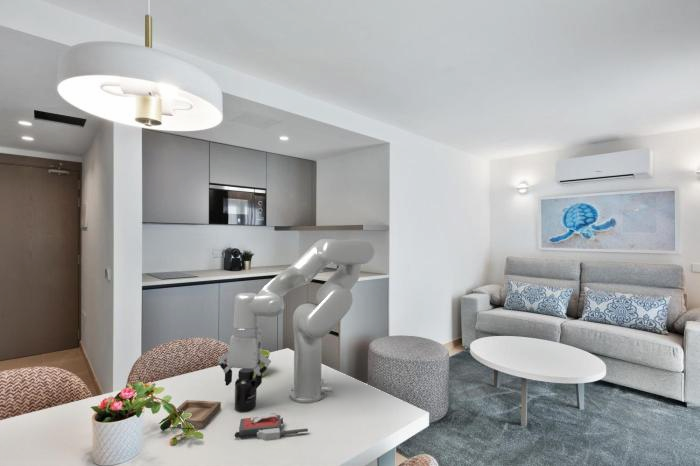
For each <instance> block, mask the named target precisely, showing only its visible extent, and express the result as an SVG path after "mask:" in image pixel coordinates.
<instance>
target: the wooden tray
mask: <svg viewBox="0 0 700 466" xmlns="http://www.w3.org/2000/svg"><path fill="white" fill-rule="evenodd" d="M221 403H222V402H221V401H212V400H211V401H210V400H195V399H194V400H193V399H191V400H190V399H187V400H185V401H183V402H182V404H179V406H178V407H177V408H175V410H177V411H180V410H183V411H184V414H185V413H191V414H192V416H191V417H190V418H187V419H185V421H186V422H188V423H191V424H192V425H193V426H194V428H195V429H194V430H201V431H203V430H204V429H205V428H206V427H207V425H208V424H210V422H211V421H212V420H213V419H214V418H215V417H216V415H218V414H219V412H220V411H221V410H222V407H221V406H222V404H221ZM168 416H169V415H167V416H166V417H165V418H164V420H165V419H166V418H167V417H168ZM175 429H182V428H181V424H178V425H177V427H176V428H175Z"/></svg>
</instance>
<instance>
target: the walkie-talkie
mask: <svg viewBox="0 0 700 466" xmlns="http://www.w3.org/2000/svg"><path fill="white" fill-rule="evenodd" d="M283 427H284V418H283V417H281V415H280V414H277V413H273V412H272V413H262V414H261V415H259V416H256V417H254V416H251V417H245V418H240V421H239V428H238V429H239V430H238V431H237V432H235V433H234V438H239V439H241V440H242V439H253V438H258V439H260V440H263V441H268V440H269V441H270V440H279V439H280V437H283V436H288V435H289V436H290V435H296V434H299V433H305V432H309V429H308V428H297V429H288V430H284V429H282V428H283Z"/></svg>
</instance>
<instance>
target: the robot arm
mask: <svg viewBox="0 0 700 466" xmlns="http://www.w3.org/2000/svg"><path fill="white" fill-rule="evenodd" d="M374 256H375V248H374V245H373V244H372V243H371V242H370V241H368V240H366V239H351V238H350V239H336V238H322V239H319V240H317V241H316V242H315V243H314V244H313V245H312V246H310V248H308V249H307V251H305V252H304V253H303V254H302V255H301V256H300V257H299V258H298V259H297V260H296V261H295V262H294V263H292V265H290V266H289V267H287V268H286V269H285V270H283V271H281V272H280V273H279V274H277V275H276V276H274V277H273V278H272V279H271V280H270V281H269V282H267V283H266V285H265V286H263V287H262V288H261V289H260V290H259V292H258V293H255V292H241V293H238V294H236V296H235V298H234V311H233V312H234V313H233V314H234V315H233V331H232V332H233V334H232V335H231V337H230V340H229V344H228V349H227V353H225V354H221V355H220V356H219V357H217V362H218V363H219V366H220V368H221V369H222V371H223V373H224V382H225V386H230V384H231V383H232V381H233V370H232V369H254V371H255V372H256V373H257V375H256V376H255V388H257V389H258V388H259V387H260V385H261V384H262V383H263V381H262V380H263V377H262V373H263V372H264V371H265V370H266V371H267V369H268V368H269V366H270V364H271V362H272V361H271V360H270V359H269V358H266V357H264V356H263V355H262V350H263V349H262V340H261V336H260V335H259V334H261V335H262V332H263V328H262V329H260V328H259V317H267V318H274V317H277V316H279V315H281V314H282V313H283V311H284V309H285V301H284V299H283V298H284V296H286V295H287V294H288V293H289V292H291V291H292V290H294V289H296V288H298V287H302V286H305V285H307V284H309V283H311V282H312V281H313V280H314V278H316V277H317V276H318V275H319V273H320V272H321V271H323V270H324V268H326V266H328V264H330V265H338V266H339V267H338V268H337V269H336V271H334V273H333V274H332V275H331V276H330V277H329V278H328V279H327V280H326V282H324V283H323V284H322V285H321V286H320V288H318V290H317V291H316V301H317V303H318V305H314V304H313V303H302V304H300V305H299V306H298V307H296V309H295V310H294V312H293V315H292V328H293V338H294V341H293V342H294V344H293V346H294V348H293V349H294V350H293V352H294V353H293V387H292V388H291V389H289V392H288V393H289V394H288V395H289V396H288V397H289V398H290V399H291V400H293V401H295V402H297V403H302V404H303V403H307V404H308V403H309V404H310V403H315V402H318V401H320V400H323V398H324V397H325V396H326V393H334V388H335V387H334V385H333V386H332V384H331V383H325V382H324V378H322V354H323V353H322V352H323V351H322V349H323V347H322V346H323V345H322V344H323V341H322V338H324V337H326V336H327V335H328V334H329V333H330V332H332V330H333V329H334V328H335V327H336V326H337V325H338V324H339V322H340V321H341V320H342V319H343V318H344V317H345V316H346V314H348V312H349V311H350V309H351V307H352V305H353V301H354V300H353V299H354V298H353V293H352V291H351V290H352V289H353V288H354V286H355V285H356V284H357V283H358V280H359V279H360V276H361V271H362V270H361V266H362V265H365V264H368V263H369V262H371V261H372V260H373V258H374ZM225 359H226V362H225ZM261 361H262V362H264V363H265V365H264V367H263V368H262V367H261V366H260V364H261Z"/></svg>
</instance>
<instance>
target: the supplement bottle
mask: <svg viewBox="0 0 700 466" xmlns="http://www.w3.org/2000/svg"><path fill="white" fill-rule="evenodd" d="M253 376H254V369H242V368H239V370H238V377H237V379H236V380H235V383H234V410H235V411H236V412H239V413H248V412H250V411H253V410H254V409H255V408H256V407H257V392H258V391H257V390H258V388H255V377H253Z"/></svg>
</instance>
